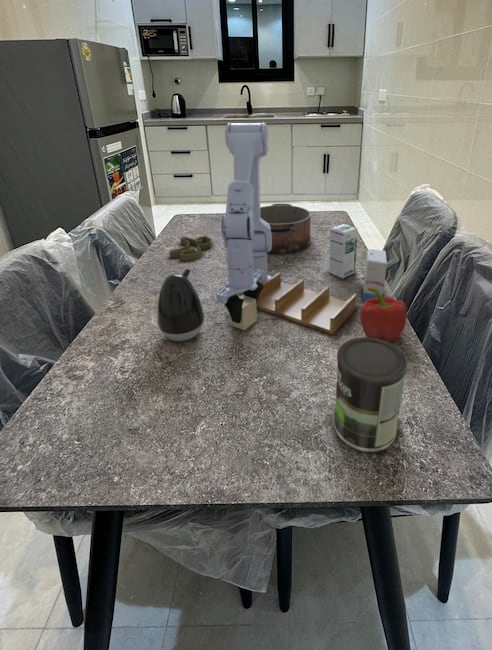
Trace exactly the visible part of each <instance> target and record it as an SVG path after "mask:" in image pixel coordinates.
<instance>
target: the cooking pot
mask: <svg viewBox="0 0 492 650" xmlns="http://www.w3.org/2000/svg"><path fill="white" fill-rule="evenodd" d="M260 214H261V218H262V219H263V220H264V221H266V222H267V223H268V224H269V225H270V227H271V235H272V246H271V251H270V252H267V254H272V255H273V254H274V255H284V254H292V253H296V252H299V251H302V250H304V249H306V248H307V247H308V246H309V245H310V243H311V217H312V216H311V212H310V210H308V209H306V208H304V207H301V206H297V205H292V204H291V203H273V204H271V205H265V206H260Z"/></svg>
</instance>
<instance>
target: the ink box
mask: <svg viewBox="0 0 492 650" xmlns="http://www.w3.org/2000/svg"><path fill="white" fill-rule="evenodd" d="M386 252H387V251H386V250H382V249H381V250H379V249H372V248H368V249H367V252H366V260H365V269H364V279H363V303H364V302H365V301H366V300H368V299H370V298H374V297H375V298H378V297H377V295H376V293H375V292H374V291H373V292H372V291H370V290H368V288H370V287H373V288H376V289H377V290H378V291H379V292H380V293H381V295H382V297H383V298H384V292H385V291H384V289H385V283H386V274H387V266H388V262H387V261H388V259H387V253H386Z"/></svg>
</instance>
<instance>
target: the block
mask: <svg viewBox="0 0 492 650" xmlns="http://www.w3.org/2000/svg"><path fill="white" fill-rule="evenodd" d="M238 297H239V298H241V299H244V302H243V305H242V310H241V322H240V323H239V324H238V323H236V322H233V321H232V319H231V318H230V325H231V326H232V327H234V328H236V329H239V330H241V331H246V330H247V329H248V328H250V327H251V326H252V325H253V324H255V323H256V322H257V321H258V312H257V311H258V310H257V309H258V308H256V299H254V298H251V297H248V296H245V295H244V294H242V295H240V296H238Z"/></svg>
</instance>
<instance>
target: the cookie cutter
mask: <svg viewBox="0 0 492 650" xmlns="http://www.w3.org/2000/svg"><path fill="white" fill-rule="evenodd" d="M179 240H180V244H181V245H185V246H183V247H180V248H176V249H171V250H169V258H170V259H171V258H180V261H192V260H193V261H194V260H196V259H199V258H200V257H202V251H203V250H207V249H211V248H212V247H213V242H212V238H210V237H209V236H208V235H203V236H199V237H197V238H191V237H186V236H185V237H184V236H182V237H180V238H179ZM190 245H194V246H196V247H197V251H196V248H195V247H193V248H191V247H190Z"/></svg>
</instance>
